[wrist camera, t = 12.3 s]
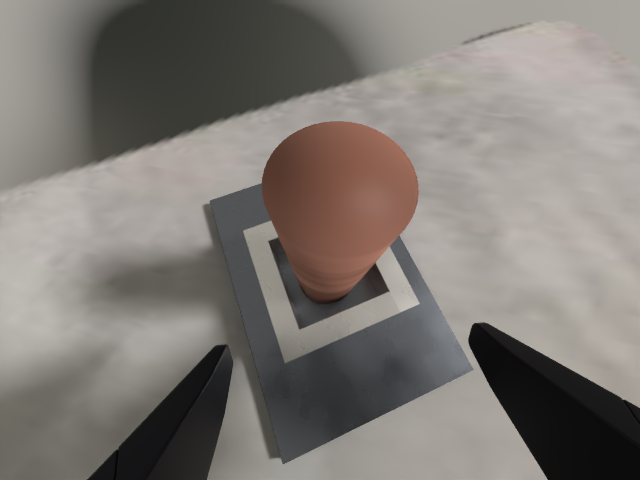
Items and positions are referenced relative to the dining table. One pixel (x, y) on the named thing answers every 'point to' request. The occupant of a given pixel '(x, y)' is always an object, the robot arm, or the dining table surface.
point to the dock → (332, 333)
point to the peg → (337, 203)
